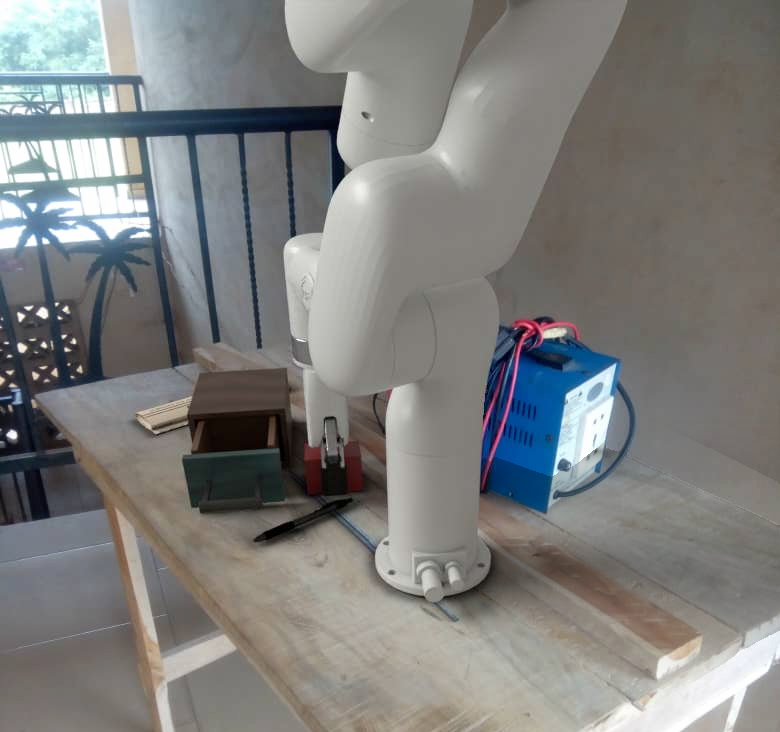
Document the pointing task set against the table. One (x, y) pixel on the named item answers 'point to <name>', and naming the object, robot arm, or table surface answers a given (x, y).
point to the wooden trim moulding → (165, 416)
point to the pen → (303, 519)
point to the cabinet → (244, 400)
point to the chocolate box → (350, 460)
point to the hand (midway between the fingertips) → (334, 477)
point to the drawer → (235, 464)
